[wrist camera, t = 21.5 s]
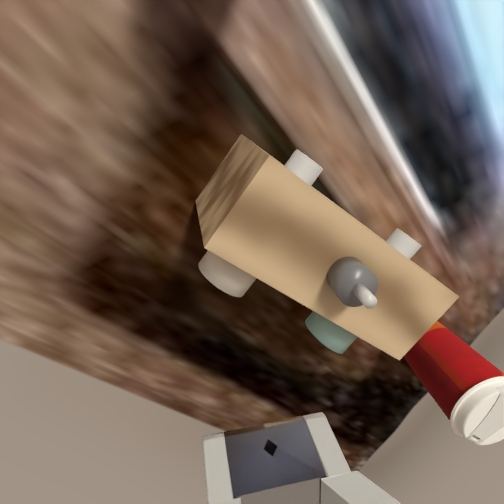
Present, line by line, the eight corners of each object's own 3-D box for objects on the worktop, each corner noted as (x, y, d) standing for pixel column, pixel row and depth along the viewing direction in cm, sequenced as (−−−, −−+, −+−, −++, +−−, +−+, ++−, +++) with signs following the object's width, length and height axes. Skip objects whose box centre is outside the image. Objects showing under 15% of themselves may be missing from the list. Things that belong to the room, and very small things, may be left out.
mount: (347, 296, 47) (399, 360, 36) (195, 201, 38) (204, 247, 28) (390, 245, 45) (459, 296, 34) (241, 133, 37) (269, 155, 26)
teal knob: (332, 331, 43) (350, 360, 38) (299, 312, 41) (314, 341, 36) (410, 240, 40) (441, 260, 35) (379, 215, 38) (406, 233, 33)
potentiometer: (326, 294, 31) (348, 324, 27) (327, 259, 30) (350, 286, 26) (362, 288, 32) (389, 318, 28) (365, 253, 30) (393, 279, 27)
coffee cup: (410, 363, 54) (489, 458, 40) (371, 339, 50) (443, 434, 37) (452, 319, 52) (551, 403, 38) (415, 292, 49) (507, 373, 35)
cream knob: (239, 278, 38) (248, 305, 33) (196, 254, 36) (200, 279, 31) (321, 169, 35) (342, 182, 30) (279, 137, 33) (296, 146, 28)
